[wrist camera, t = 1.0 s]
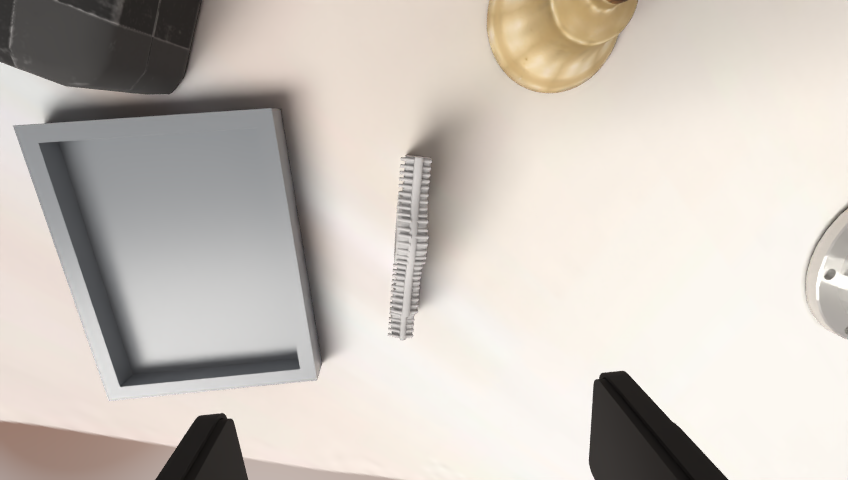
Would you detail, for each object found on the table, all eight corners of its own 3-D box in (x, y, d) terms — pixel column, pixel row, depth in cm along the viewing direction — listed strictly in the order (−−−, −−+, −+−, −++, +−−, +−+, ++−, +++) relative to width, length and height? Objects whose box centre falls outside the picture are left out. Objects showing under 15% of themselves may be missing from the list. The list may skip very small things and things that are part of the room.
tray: (280, 109, 25) (271, 108, 23) (322, 363, 30) (317, 380, 28) (43, 125, 24) (13, 125, 22) (127, 382, 29) (108, 401, 27)
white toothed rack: (412, 318, 29) (416, 365, 24) (387, 317, 29) (386, 364, 24) (427, 151, 26) (436, 160, 20) (399, 149, 26) (401, 157, 20)
